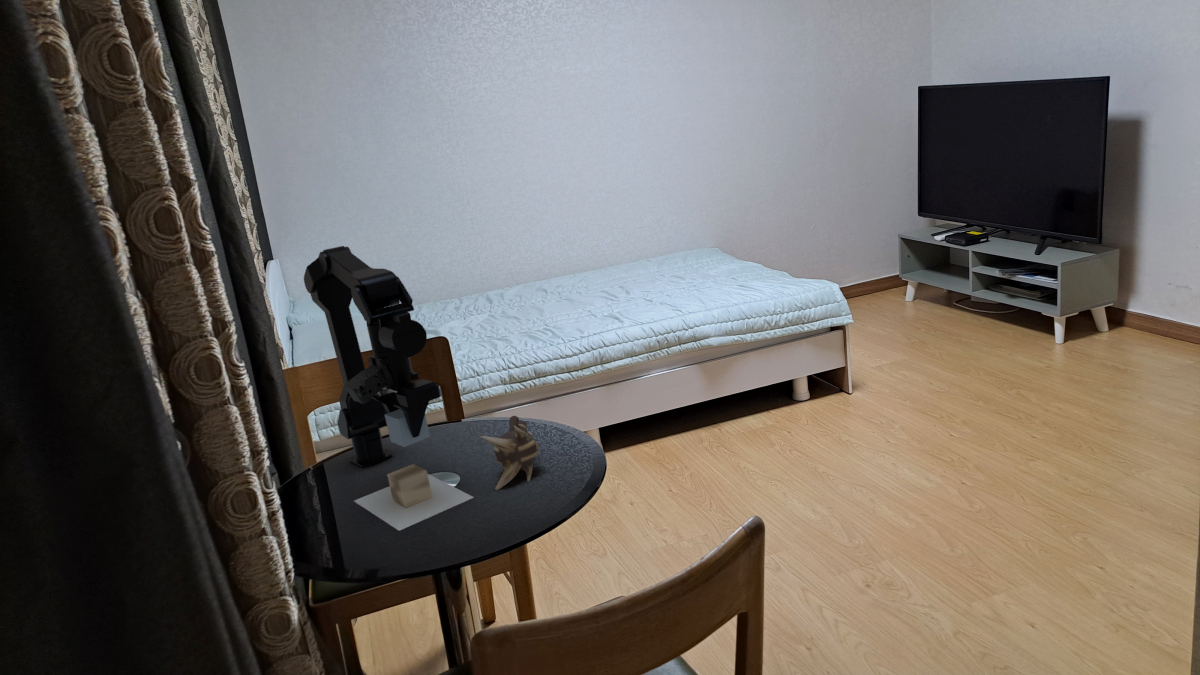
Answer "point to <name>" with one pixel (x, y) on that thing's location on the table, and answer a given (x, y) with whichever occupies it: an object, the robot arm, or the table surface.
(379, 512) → the board
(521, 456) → the toy
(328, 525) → the table surface
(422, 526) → the table surface
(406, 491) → the maple block
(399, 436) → the blue block
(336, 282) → the robot arm
